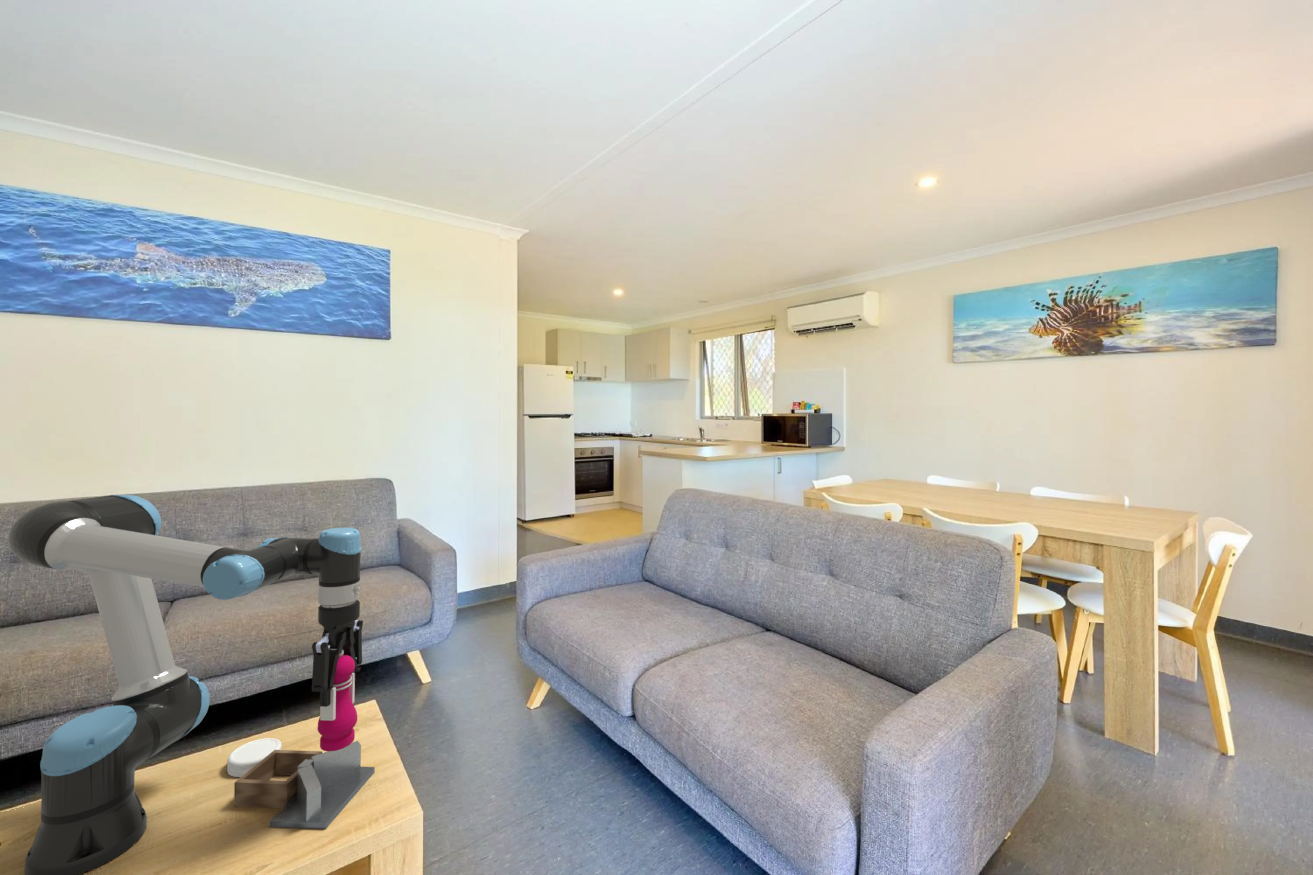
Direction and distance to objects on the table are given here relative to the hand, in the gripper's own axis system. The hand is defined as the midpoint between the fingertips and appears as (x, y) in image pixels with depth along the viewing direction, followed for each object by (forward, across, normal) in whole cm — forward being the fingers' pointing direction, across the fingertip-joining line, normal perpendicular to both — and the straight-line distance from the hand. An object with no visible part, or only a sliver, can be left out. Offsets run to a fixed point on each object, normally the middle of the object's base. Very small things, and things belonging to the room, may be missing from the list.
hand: (337, 710), depth 110 cm
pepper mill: (+7, 0, 0) cm, 7 cm away
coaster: (+19, +10, +26) cm, 34 cm away
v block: (+19, 0, +2) cm, 19 cm away
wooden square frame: (+19, +2, +14) cm, 23 cm away
